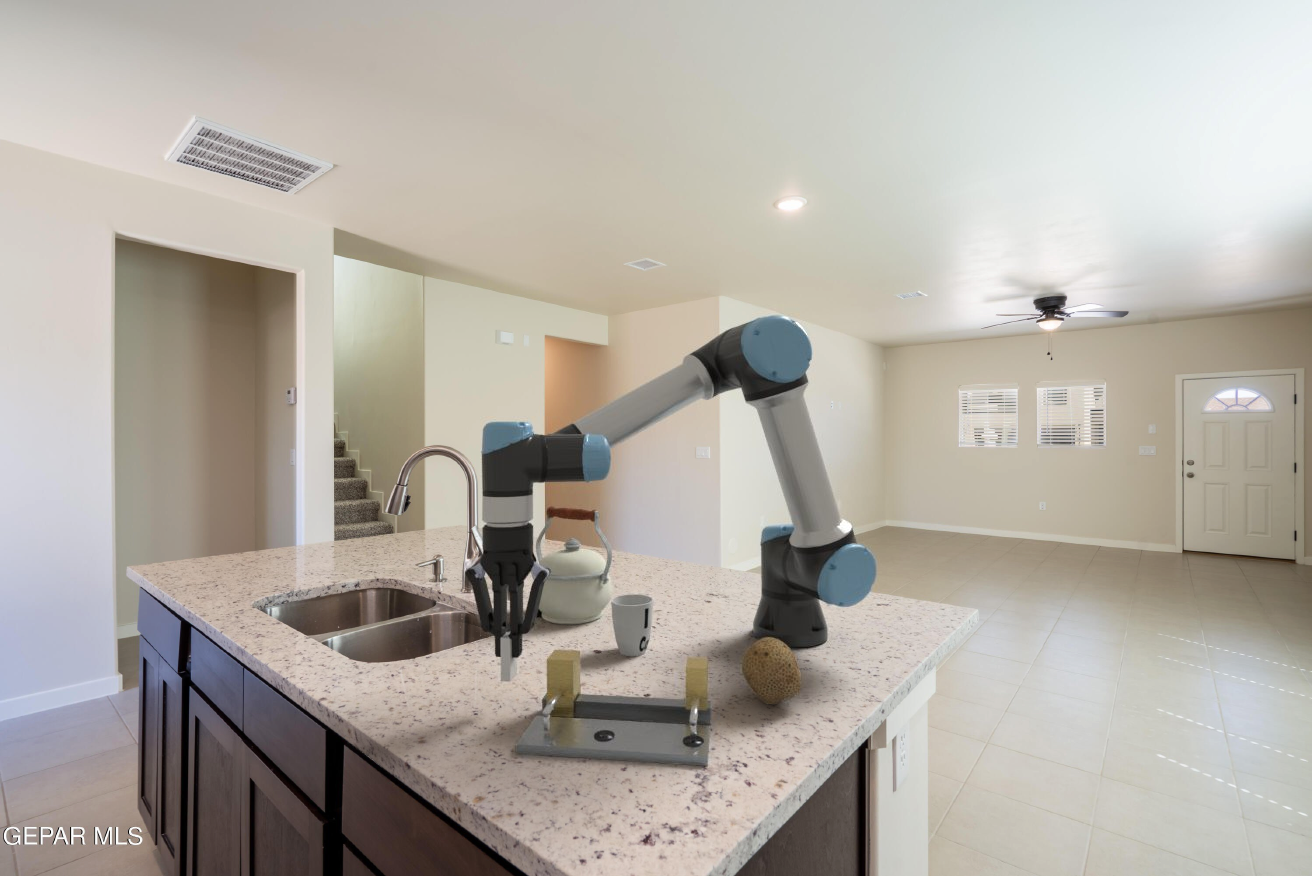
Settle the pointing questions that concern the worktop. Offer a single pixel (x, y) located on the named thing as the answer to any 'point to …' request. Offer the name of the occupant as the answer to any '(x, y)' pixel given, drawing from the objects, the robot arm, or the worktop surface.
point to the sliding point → (561, 684)
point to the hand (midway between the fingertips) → (508, 677)
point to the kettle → (574, 575)
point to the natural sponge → (771, 670)
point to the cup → (632, 622)
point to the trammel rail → (654, 703)
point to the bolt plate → (616, 740)
